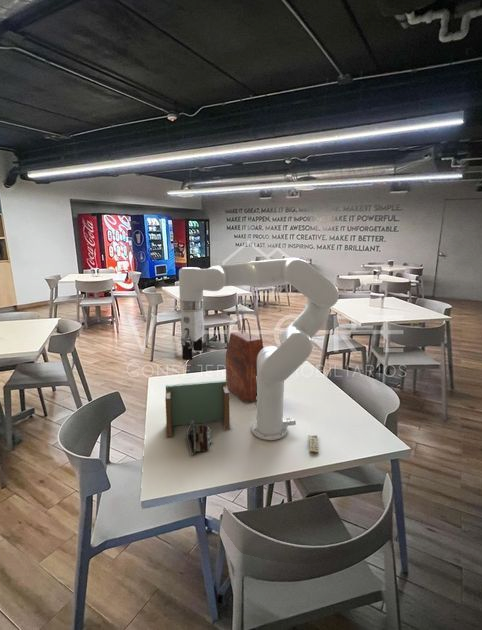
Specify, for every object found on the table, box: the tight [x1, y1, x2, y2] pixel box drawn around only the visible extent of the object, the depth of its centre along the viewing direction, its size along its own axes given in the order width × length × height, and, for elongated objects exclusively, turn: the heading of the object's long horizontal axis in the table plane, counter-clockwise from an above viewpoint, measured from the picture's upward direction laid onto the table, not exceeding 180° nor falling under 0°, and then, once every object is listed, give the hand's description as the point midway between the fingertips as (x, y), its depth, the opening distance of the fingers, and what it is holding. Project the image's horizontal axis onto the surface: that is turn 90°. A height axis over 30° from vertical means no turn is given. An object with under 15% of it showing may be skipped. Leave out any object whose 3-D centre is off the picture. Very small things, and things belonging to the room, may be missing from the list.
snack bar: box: [308, 434, 320, 454], centre depth 113 cm, size 10×2×3 cm
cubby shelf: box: [164, 379, 231, 438], centre depth 122 cm, size 22×9×16 cm, turn 104°
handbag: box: [225, 317, 264, 403], centre depth 149 cm, size 10×19×35 cm, turn 31°
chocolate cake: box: [185, 419, 212, 456], centre depth 113 cm, size 10×7×12 cm
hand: (192, 354), depth 113 cm, fingers open, 9 cm apart
